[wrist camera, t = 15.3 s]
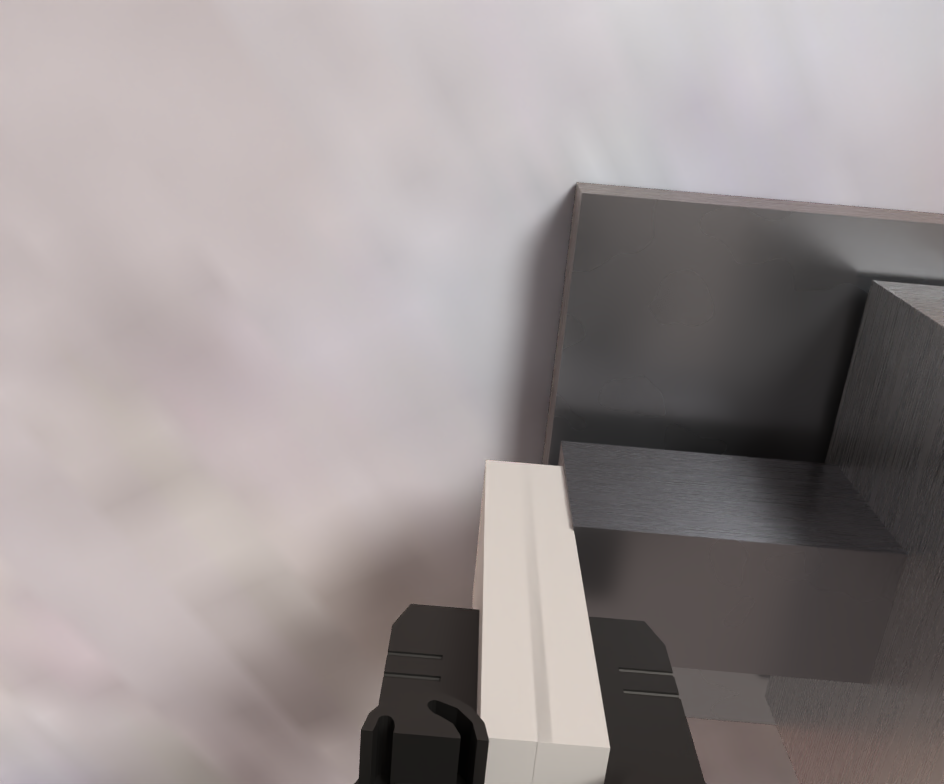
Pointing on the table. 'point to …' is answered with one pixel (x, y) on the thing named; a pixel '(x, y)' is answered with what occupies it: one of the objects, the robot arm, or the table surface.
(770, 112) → the table surface
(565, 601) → the robot arm
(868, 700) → the vise jaw
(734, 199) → the vise
